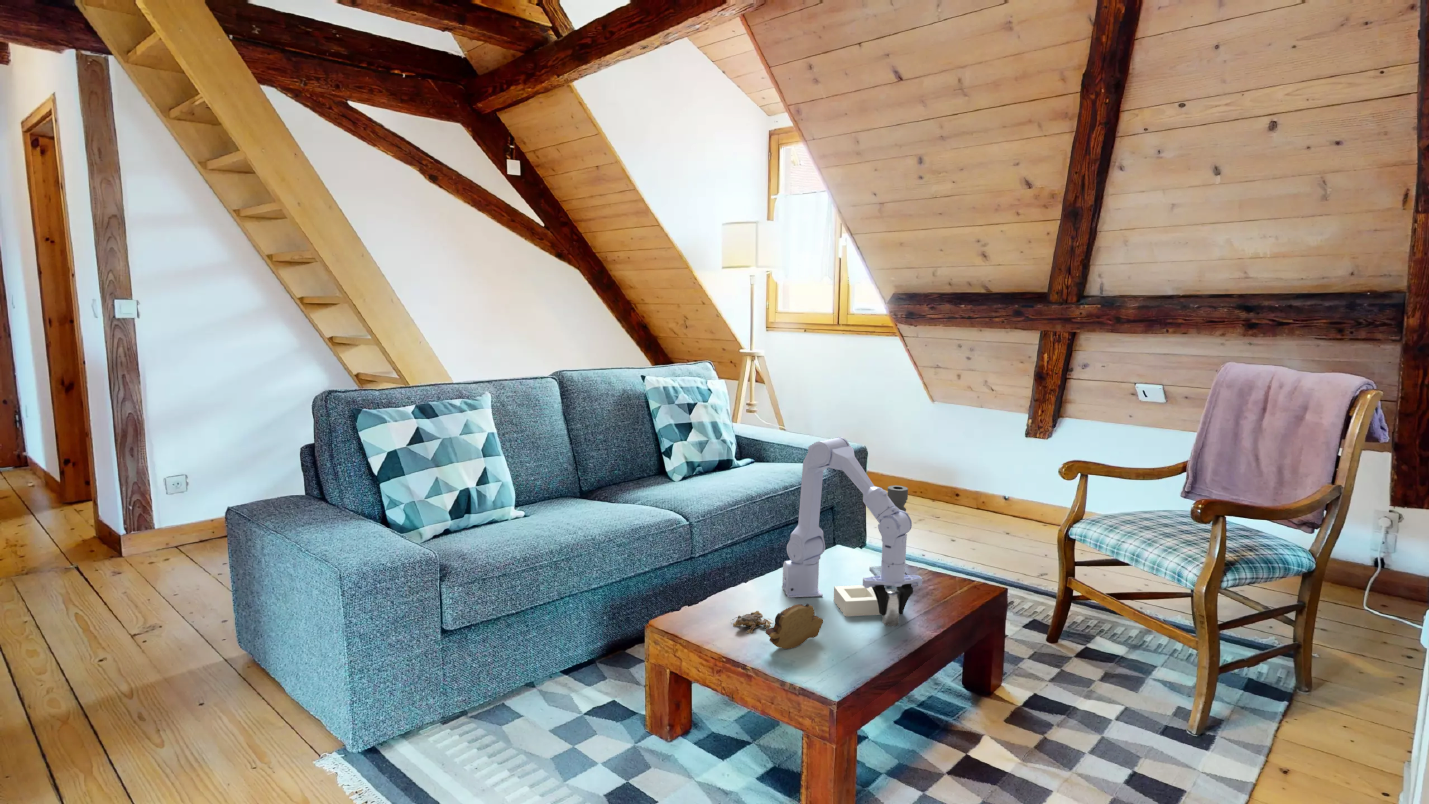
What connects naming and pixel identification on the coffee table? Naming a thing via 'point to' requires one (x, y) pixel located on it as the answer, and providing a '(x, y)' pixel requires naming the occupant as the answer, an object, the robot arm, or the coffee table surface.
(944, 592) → the coffee table surface
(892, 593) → the peg
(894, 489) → the candle holder
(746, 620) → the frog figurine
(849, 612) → the socket block
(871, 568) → the grey arch block
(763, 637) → the coffee table surface
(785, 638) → the wooden carving
